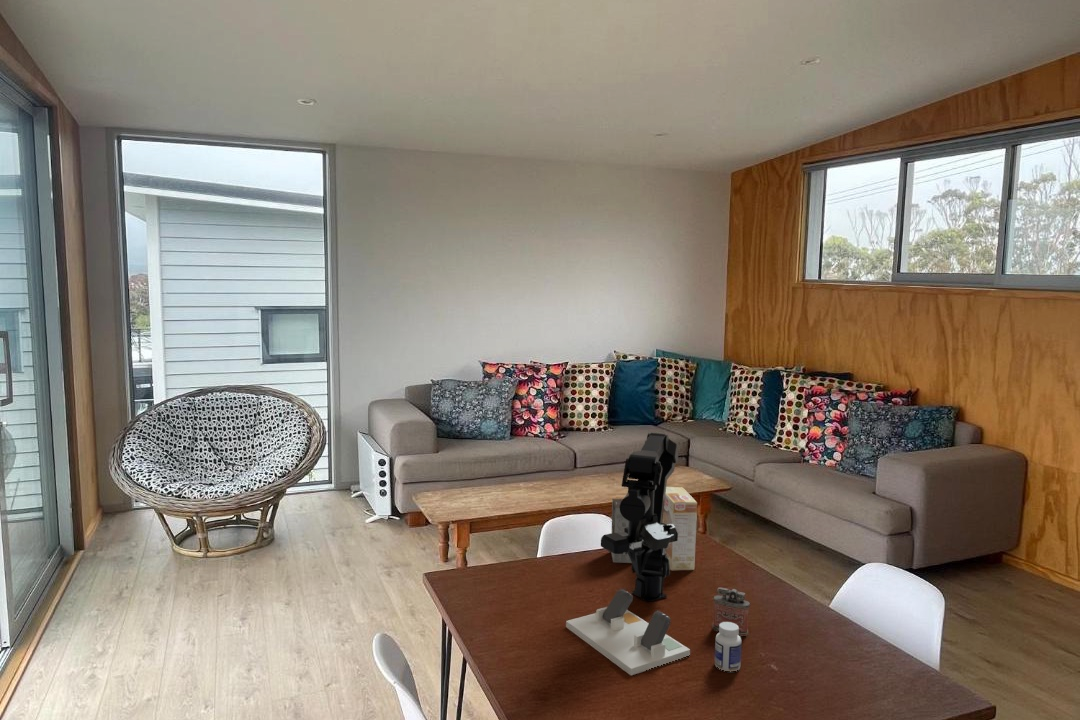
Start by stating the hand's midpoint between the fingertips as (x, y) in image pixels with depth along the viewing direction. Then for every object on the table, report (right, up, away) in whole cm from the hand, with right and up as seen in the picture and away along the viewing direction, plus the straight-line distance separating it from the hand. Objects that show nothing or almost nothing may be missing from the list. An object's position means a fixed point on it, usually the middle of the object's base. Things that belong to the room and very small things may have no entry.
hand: (638, 573), depth 176 cm
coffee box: (+1, -7, +42) cm, 42 cm away
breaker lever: (-7, -10, -3) cm, 12 cm away
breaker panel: (-4, -13, -8) cm, 15 cm away
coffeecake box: (+16, -8, +40) cm, 44 cm away
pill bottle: (+16, -15, -18) cm, 28 cm away
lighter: (+21, -13, -2) cm, 25 cm away
